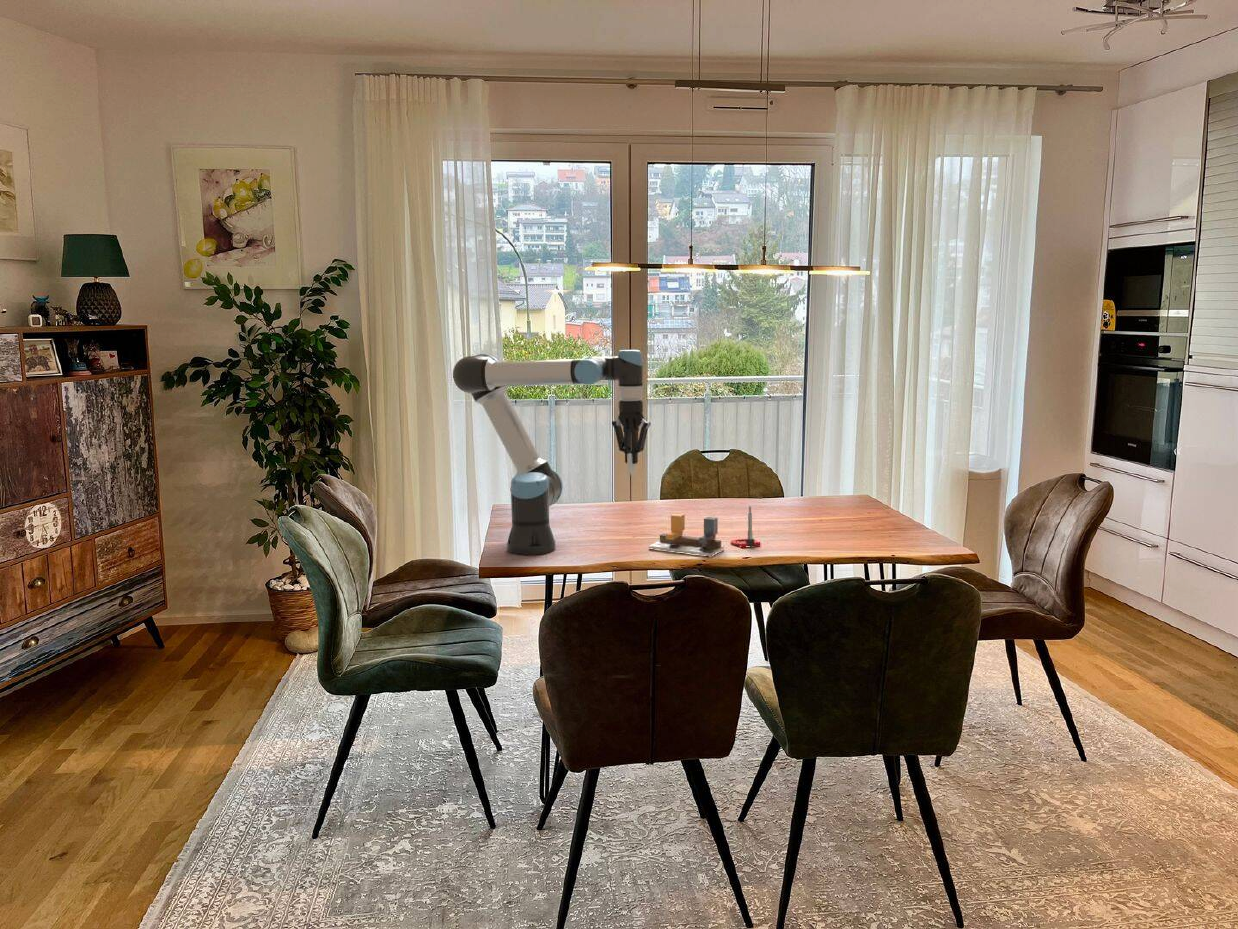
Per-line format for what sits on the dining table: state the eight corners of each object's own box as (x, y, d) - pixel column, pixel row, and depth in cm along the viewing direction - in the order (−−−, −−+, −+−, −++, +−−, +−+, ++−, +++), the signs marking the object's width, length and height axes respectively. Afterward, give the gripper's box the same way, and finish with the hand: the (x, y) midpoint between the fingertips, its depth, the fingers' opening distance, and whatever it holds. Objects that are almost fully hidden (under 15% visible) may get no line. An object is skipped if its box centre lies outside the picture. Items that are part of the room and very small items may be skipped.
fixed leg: (707, 549, 282) (707, 522, 281) (697, 548, 284) (697, 521, 283) (717, 544, 289) (717, 517, 288) (707, 542, 291) (708, 516, 289)
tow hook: (726, 543, 299) (739, 548, 290) (725, 503, 297) (738, 507, 289) (749, 541, 302) (763, 546, 293) (749, 501, 300) (763, 505, 292)
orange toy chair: (674, 545, 288) (674, 519, 287) (664, 544, 289) (664, 518, 288) (684, 540, 294) (684, 514, 293) (675, 539, 296) (675, 513, 295)
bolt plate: (710, 557, 280) (710, 547, 280) (648, 549, 290) (648, 539, 290) (723, 550, 289) (723, 539, 288) (662, 542, 299) (662, 533, 298)
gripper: (654, 399, 293) (655, 473, 296) (618, 397, 299) (619, 470, 303) (643, 401, 286) (644, 477, 290) (606, 399, 292) (607, 474, 296)
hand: (631, 473), depth 296 cm, fingers closed
